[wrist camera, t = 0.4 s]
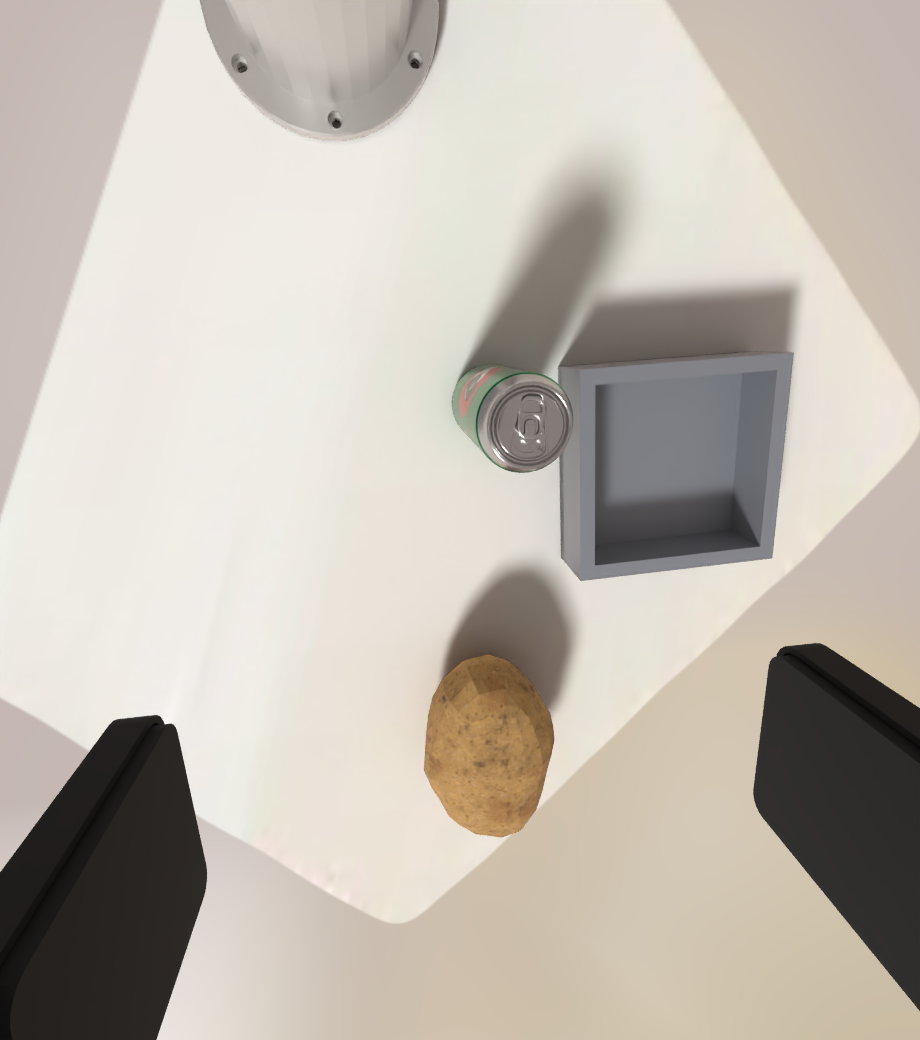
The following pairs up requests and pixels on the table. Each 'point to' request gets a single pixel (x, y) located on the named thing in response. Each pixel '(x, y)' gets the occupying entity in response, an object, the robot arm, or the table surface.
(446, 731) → the potato
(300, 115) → the robot arm
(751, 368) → the bin
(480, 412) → the soda can
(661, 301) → the table surface
